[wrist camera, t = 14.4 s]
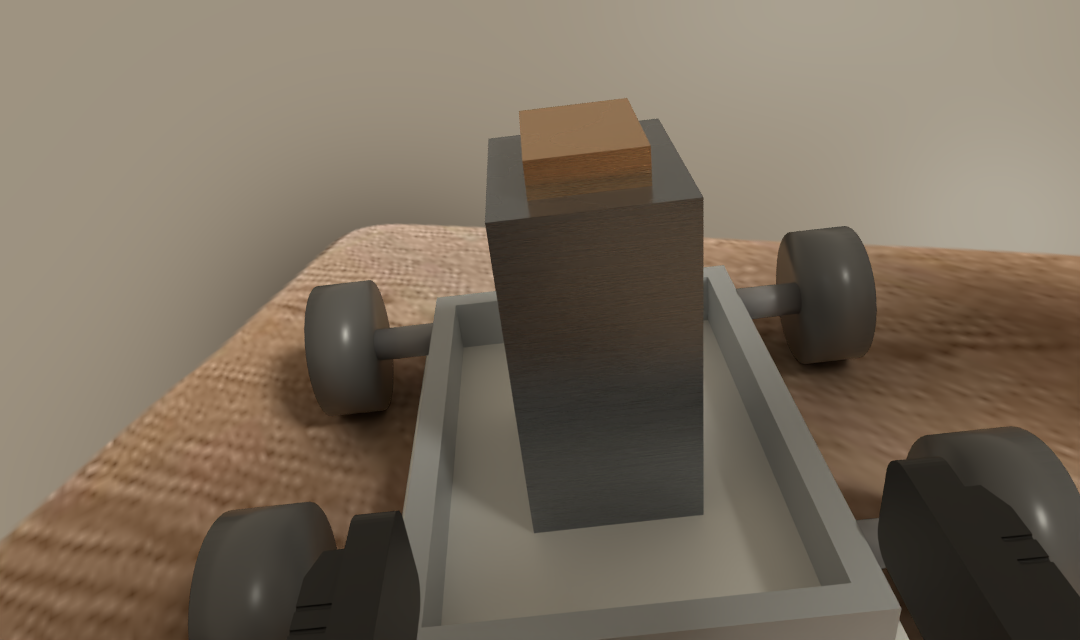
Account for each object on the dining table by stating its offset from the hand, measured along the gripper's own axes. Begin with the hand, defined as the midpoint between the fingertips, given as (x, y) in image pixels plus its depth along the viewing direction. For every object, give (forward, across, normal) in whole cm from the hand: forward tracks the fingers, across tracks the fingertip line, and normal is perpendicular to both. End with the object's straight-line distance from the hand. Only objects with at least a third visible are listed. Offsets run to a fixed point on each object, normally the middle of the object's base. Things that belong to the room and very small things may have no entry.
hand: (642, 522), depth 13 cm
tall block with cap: (+10, 0, +8) cm, 13 cm away
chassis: (+10, 0, +8) cm, 13 cm away
